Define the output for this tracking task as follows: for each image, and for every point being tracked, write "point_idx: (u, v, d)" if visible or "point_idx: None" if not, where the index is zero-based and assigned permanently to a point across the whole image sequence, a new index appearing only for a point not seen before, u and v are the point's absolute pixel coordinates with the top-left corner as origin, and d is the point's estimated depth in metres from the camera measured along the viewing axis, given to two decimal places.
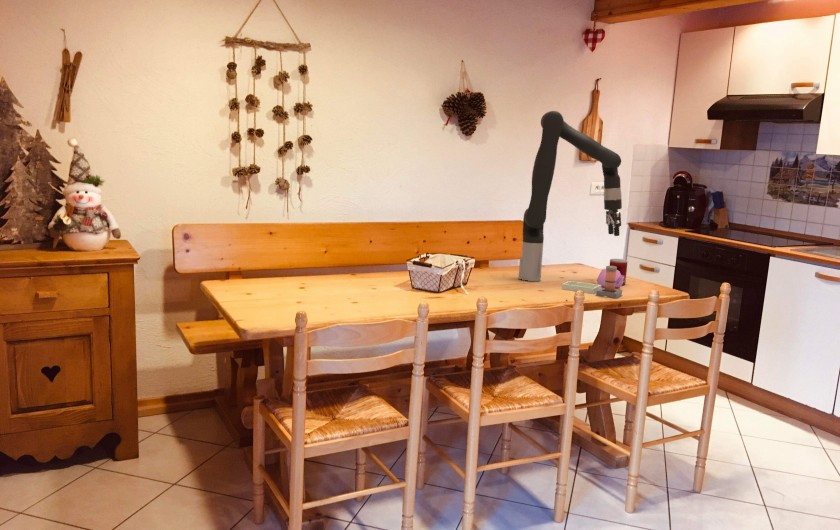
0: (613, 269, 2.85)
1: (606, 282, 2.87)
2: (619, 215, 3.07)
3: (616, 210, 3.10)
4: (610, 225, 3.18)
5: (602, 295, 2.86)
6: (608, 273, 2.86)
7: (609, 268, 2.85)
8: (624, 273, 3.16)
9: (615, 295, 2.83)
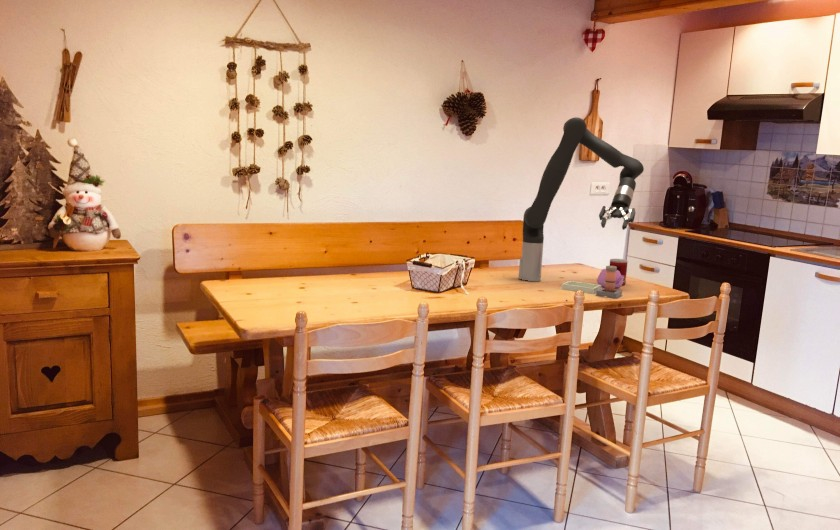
0: (613, 269, 2.85)
1: (606, 282, 2.87)
2: None
3: (628, 208, 2.98)
4: (605, 219, 2.98)
5: (602, 295, 2.86)
6: (607, 273, 2.86)
7: (609, 268, 2.85)
8: (624, 273, 3.16)
9: (615, 295, 2.83)
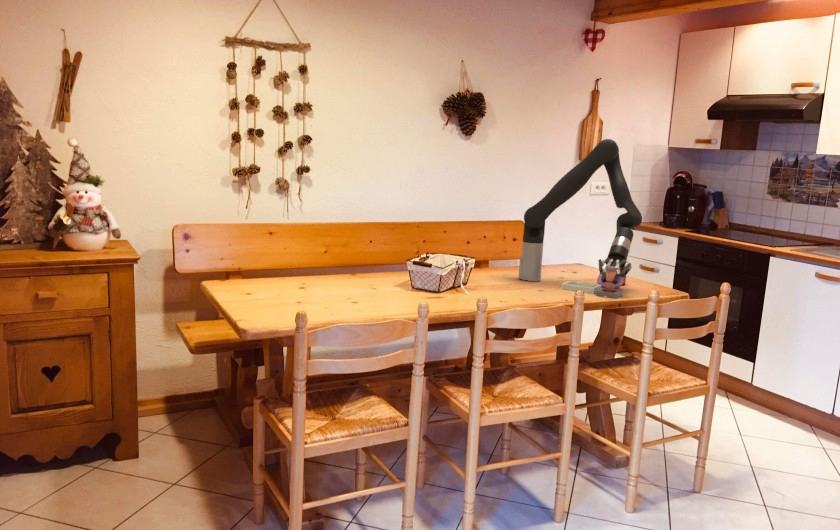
0: (613, 269, 2.85)
1: (606, 282, 2.87)
2: (630, 268, 2.87)
3: (625, 261, 2.90)
4: None
5: (602, 295, 2.86)
6: (607, 273, 2.86)
7: (609, 268, 2.85)
8: None
9: (615, 295, 2.83)
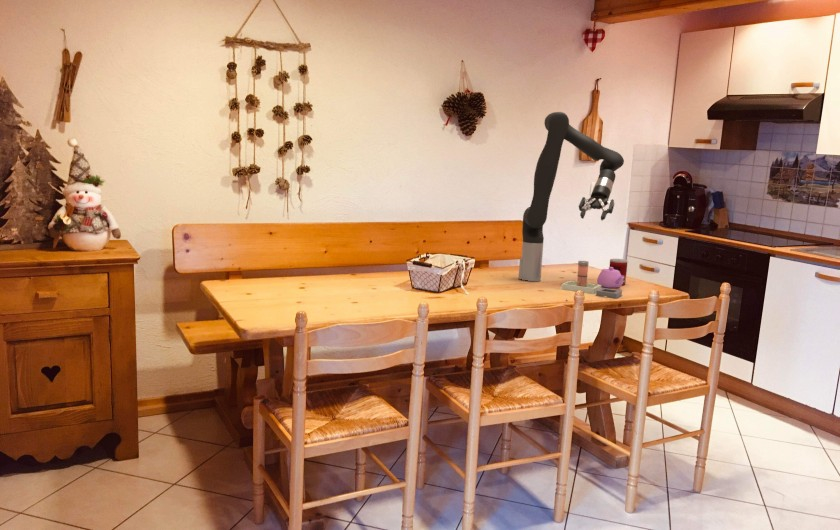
0: (585, 264, 2.95)
1: (578, 276, 2.97)
2: (613, 204, 3.00)
3: (607, 200, 3.03)
4: (585, 210, 3.03)
5: (602, 295, 2.86)
6: (580, 268, 2.96)
7: (581, 263, 2.95)
8: (624, 273, 3.16)
9: (615, 295, 2.83)
